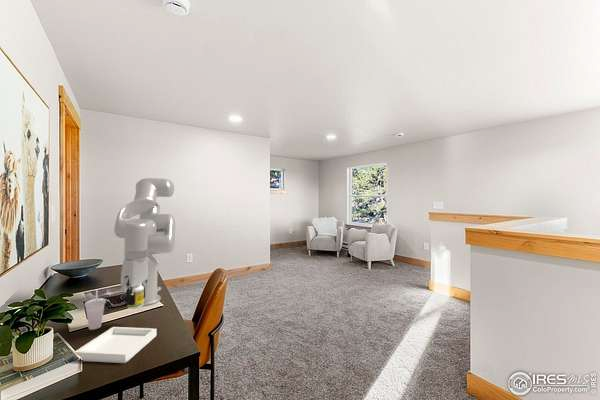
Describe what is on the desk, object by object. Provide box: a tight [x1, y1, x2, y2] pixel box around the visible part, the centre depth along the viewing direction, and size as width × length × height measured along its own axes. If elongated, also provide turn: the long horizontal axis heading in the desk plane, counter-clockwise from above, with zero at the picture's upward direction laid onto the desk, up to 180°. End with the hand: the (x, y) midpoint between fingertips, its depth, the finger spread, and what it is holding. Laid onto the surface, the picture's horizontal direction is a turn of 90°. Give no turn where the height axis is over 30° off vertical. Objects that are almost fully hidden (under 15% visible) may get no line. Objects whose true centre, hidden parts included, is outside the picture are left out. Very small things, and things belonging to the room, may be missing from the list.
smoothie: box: [84, 289, 107, 331], centre depth 102 cm, size 6×6×14 cm
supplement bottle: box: [127, 283, 144, 310], centre depth 104 cm, size 5×5×10 cm
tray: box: [74, 326, 158, 364], centre depth 89 cm, size 16×16×2 cm
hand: (135, 300), depth 104 cm, fingers closed on supplement bottle, 5 cm apart
